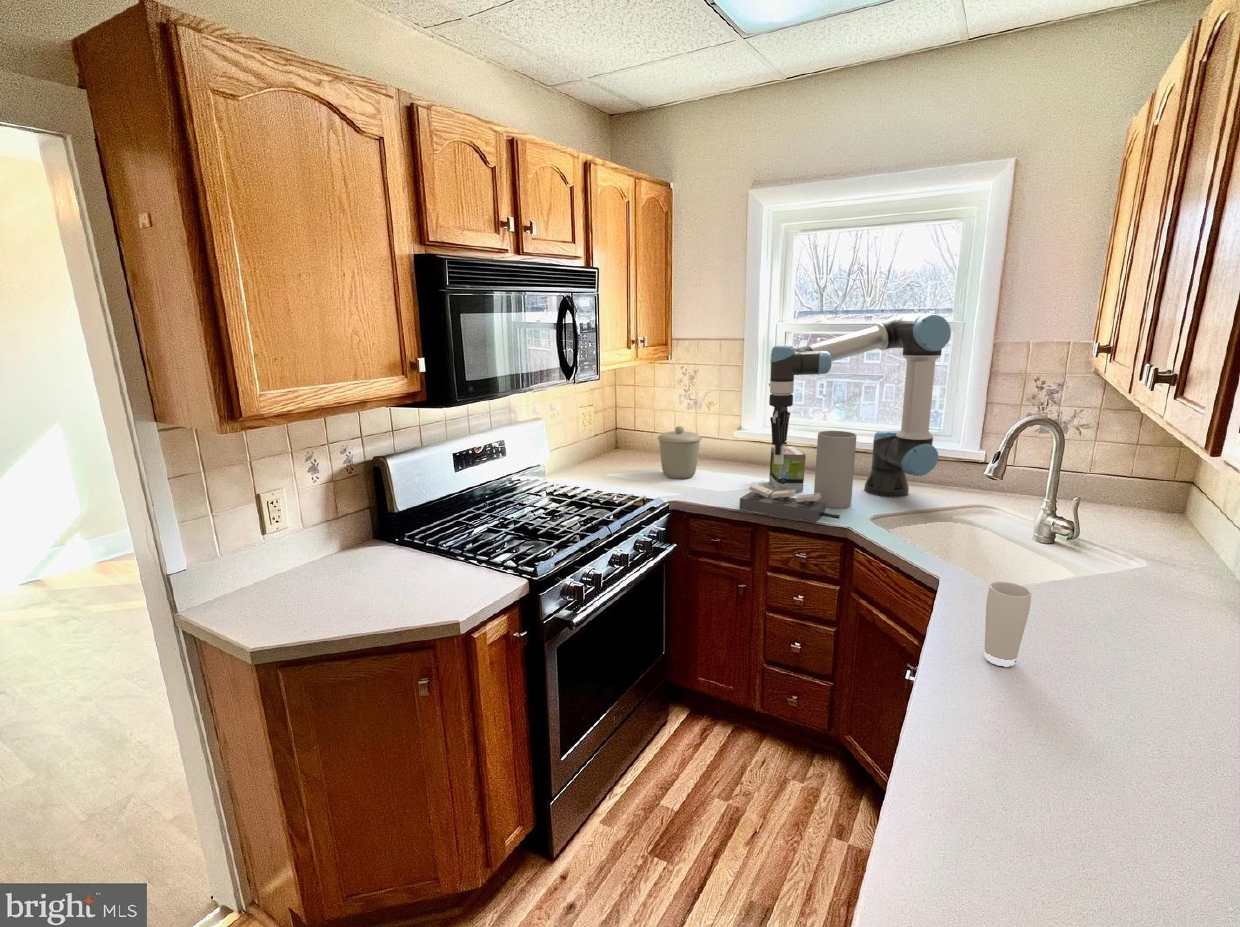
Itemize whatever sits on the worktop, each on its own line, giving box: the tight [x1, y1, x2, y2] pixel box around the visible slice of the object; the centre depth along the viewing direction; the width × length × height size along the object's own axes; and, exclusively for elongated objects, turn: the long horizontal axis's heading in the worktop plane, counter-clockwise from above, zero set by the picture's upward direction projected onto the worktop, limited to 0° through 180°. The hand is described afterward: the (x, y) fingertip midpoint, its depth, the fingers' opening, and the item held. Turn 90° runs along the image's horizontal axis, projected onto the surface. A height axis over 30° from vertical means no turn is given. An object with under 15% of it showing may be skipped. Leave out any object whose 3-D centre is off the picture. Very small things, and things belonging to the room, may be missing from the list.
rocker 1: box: [748, 483, 774, 498], centre depth 212 cm, size 7×4×2 cm, turn 56°
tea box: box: [768, 446, 807, 493], centre depth 235 cm, size 15×10×15 cm
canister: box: [656, 425, 703, 480], centre depth 252 cm, size 18×18×21 cm
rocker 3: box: [795, 493, 821, 502], centre depth 203 cm, size 7×4×2 cm, turn 56°
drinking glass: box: [984, 581, 1032, 660], centre depth 115 cm, size 7×7×15 cm
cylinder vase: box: [813, 430, 858, 510], centre depth 212 cm, size 12×12×25 cm
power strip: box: [739, 491, 841, 523], centre depth 205 cm, size 32×10×5 cm, turn 56°
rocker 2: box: [771, 490, 797, 498], centre depth 207 cm, size 7×4×2 cm, turn 57°
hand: (778, 463), depth 206 cm, fingers closed
